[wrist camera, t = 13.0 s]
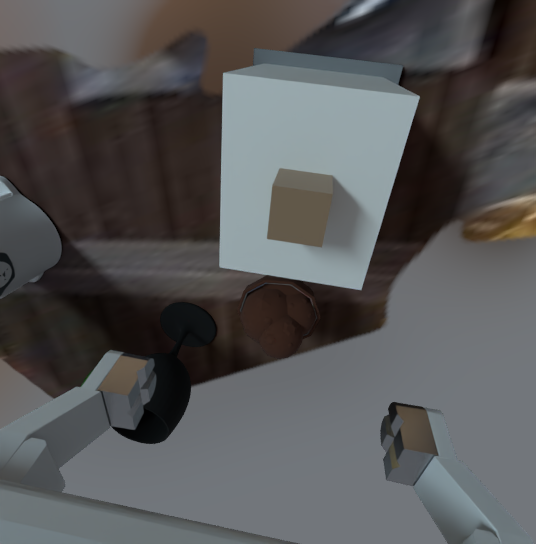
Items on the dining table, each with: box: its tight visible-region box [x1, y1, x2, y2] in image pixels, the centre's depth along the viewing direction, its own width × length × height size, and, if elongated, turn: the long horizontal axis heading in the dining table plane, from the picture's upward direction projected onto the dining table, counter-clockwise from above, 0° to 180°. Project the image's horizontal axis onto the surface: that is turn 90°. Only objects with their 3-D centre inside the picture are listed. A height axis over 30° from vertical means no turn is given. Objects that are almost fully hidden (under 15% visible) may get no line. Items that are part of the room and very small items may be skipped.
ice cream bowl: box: [237, 275, 321, 359], centre depth 47 cm, size 11×11×15 cm
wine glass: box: [111, 302, 216, 444], centre depth 54 cm, size 10×10×20 cm
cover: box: [219, 63, 420, 290], centre depth 33 cm, size 13×16×22 cm
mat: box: [253, 48, 403, 85], centre depth 42 cm, size 16×18×1 cm
